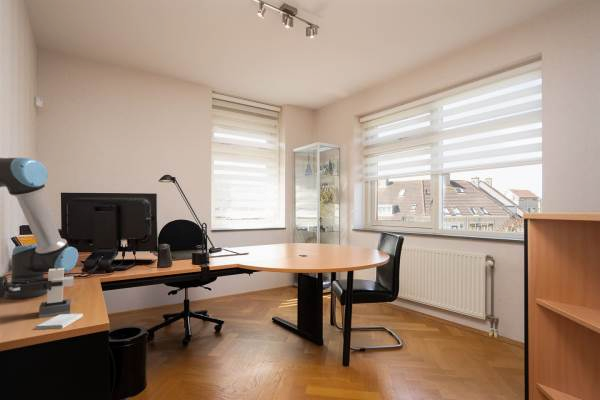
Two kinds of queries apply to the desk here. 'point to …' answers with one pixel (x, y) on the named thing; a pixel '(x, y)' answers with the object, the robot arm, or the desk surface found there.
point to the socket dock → (54, 308)
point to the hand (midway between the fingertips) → (73, 280)
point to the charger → (57, 292)
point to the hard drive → (59, 321)
